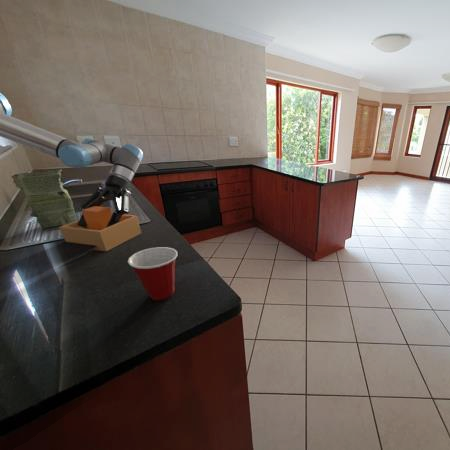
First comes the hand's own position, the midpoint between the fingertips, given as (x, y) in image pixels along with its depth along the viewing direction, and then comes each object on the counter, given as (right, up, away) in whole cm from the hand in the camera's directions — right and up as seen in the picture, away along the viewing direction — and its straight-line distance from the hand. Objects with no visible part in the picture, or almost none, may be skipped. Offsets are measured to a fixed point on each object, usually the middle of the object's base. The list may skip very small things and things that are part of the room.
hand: (95, 228), depth 89 cm
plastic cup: (+40, -18, -24) cm, 50 cm away
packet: (+1, -4, +4) cm, 6 cm away
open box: (+1, -4, +5) cm, 6 cm away
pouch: (-26, -1, +13) cm, 29 cm away
